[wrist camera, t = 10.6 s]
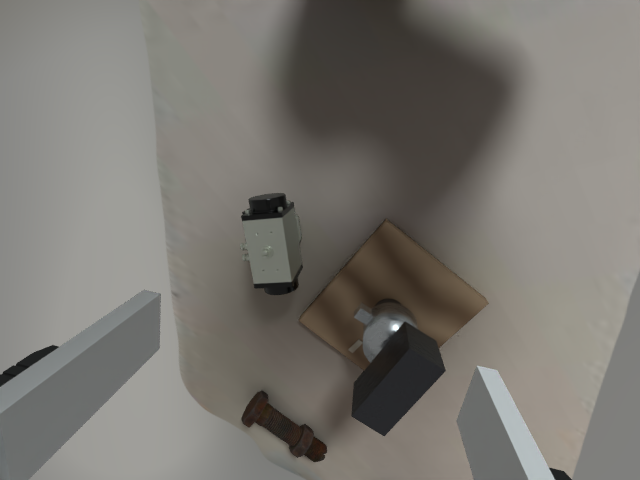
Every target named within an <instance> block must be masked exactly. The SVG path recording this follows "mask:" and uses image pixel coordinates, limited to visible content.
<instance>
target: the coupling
mask: <svg viewBox="0 0 640 480" xmlns="http://www.w3.org/2000/svg"><path fill="white" fill-rule="evenodd" d="M354 318H356V319H357V320H359V321H360V322H362V323H364V327H363V351H364V354H365V356H366V358H367V359H368V361H369V362H370V364H369V365H368V367H367V368H366V369H365V370H364V371H363V373H362V374H361V375H360V376H359V377H358V379H357V380H356V381H355V382H354V389H353V402H352V417H353V418H355V419H357V420H358V421H360V422H362V423H363V424H365V425H367V426H368V427H370V428H371V429H373V430H375V431H376V432H378V433H380V434H381V435H383V436H385V435H386V434H387V433H388V432H389V431H390V430H391V429H392V428H393V426H394V425H395V424H396V423H397V422H398V421H399V420H400V419H401V418H402V417H403V416H404V415H405V414H406V413H407V412H408V410H409V409H410V408H411V407H412V406H413V405H414V404H415V403H416V402H417V401H418V400H419V399H420V398H421V397H422V396H423V394H424V393H425V392H426V391H427V390H428V389H429V388H430V387H431V386H432V385H433V384H434V383H435V382H436V381H437V379H438V378H439V377H440V376H441V375H442V374H443V373H444V372H445V371H446V370H445V367H444V364H443V361H442V358H441V354H440V351H439V348H438V345H437V341H436V340H434V339H433V338H431V337H430V336H428V335H427V334H425V333H423V332H422V331H420V330H419V329H418V325H417V321H416V318H415V316H414V314H413V313H412V312H411V311H410V310H409V309H408V308H406V307H405V306H403V305H400V304H397V303H382V304H379V305H377V306H375V307H373V308H372V309H371V308H369V307H368V306H366V305H364V304H363V303H360V305H359V306H358V307H357V309H356V310H355V311H354Z"/></svg>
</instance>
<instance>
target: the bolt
mask: <svg viewBox="0 0 640 480" xmlns="http://www.w3.org/2000/svg"><path fill="white" fill-rule="evenodd" d="M267 402H268V395H267V394H266V393H265V392H263V391H260V392H258V393H257V394H256V395H255V396H254V397H253V398H252V400H251V401H250V403H249V404H248V406H247V407H246V409H245V411H244V413H243V416H242V422H243V424H244V425H246V426H247V427H250V426H251V425H252V424H253V423H254V422H256V423H257V424H259V425H260V426H263V427H265V428H267V430H269V431H270V432H271V433H273V434H275V435H276V436H278V438H280V439H281V440H283V441H285V442H286V443H288V444H289V445H290V446H289V449H290V451H291V453H292V454H293V455H294V456H296V457H297V458H298V457H301V456H303V455H305V456H307V457H308V458H309V459H310V460H312V461H313V462H318V461H321V460H324V458H325V455H324V454H325V453H327V446H326V445H325V444H324V443H323V442H321V441H320V440H318V439H317V438H315V437H314V436H313V435H314V433H313V431H312V429H311V428H310V427H309V426H307V425H306V424H304V425H301V426H298V425H297V424H296V423H294V422H293V421H291V420H290V419H289V418H287V417H286V416H284V415H282V414H281V413H280V412H279V411H277V410H276V409H274V408H273V407H272V406H271V405H270V404H268V403H267Z"/></svg>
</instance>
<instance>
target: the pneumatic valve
mask: <svg viewBox="0 0 640 480" xmlns="http://www.w3.org/2000/svg"><path fill="white" fill-rule="evenodd" d="M249 205H250V208H249V209H247V210H246V211H244V212H242V213H243V215H242V216H241V218H242V223H243V228H244V234H245V239H246V243H245V244H244V243H241V244H240V249H241V250H248V254H247V255H246V254H243V256H242V259H243V261H250V266H251V272H252V277H253V283H254V288H264V291H265V292H266V293H267V294H270V295H282V294H287V293H290V292H292V291H294V290H296V289H297V288H298V286H299V284H298V275H299V274H300V272H301V270H302V268H303V266H302V259H301V252H300V244H299V242H300V241H301V238H302V236H301V229H300V221H299V216H297V214H295V209H294V202H290V201H286V195H285V194H284V193H273V194H265V195H259V196H255V197H252V198H249Z"/></svg>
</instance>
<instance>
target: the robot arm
mask: <svg viewBox="0 0 640 480" xmlns="http://www.w3.org/2000/svg"><path fill="white" fill-rule="evenodd" d="M160 300H161V294H160V293H156V292H151V291H147V290H143V291H141V292H140V293H138V294H137V295H135V296H134V297H133V298H131V299H130V300H128V301H127V302H125V303H124V304H122V305H121V306H119V307H118V308H116V309H115V310H113V311H112V312H111V313H109V314H107V315H106V316H104V317H103V318H101V319H100V320H98V321H97V322H96V323H94V324H93V325H91V326H90V327H88V328H87V329H85V330H84V331H82V332H81V333H79V334H78V335H76V336H75V337H73V338H72V339H70V340H69V341H67V342H66V343H64V344H63V345H62V346H60V347H58V346H54V345H52V346H49V347H47V348H44V349H42V350H39V351H36V352H34V353H32V354H30V355H29V356H27V357H26V358H24V359H23V360H21V361H20V362H18V363H17V364H16V366H12V367H10V368H9V369H7V370H6V371H4V372H3V374H2V375H0V480H29V479H30V478H31V477H32V476H33V475H34V474H35V473H36V472H37V471H38V470H39V469H40V468H41V467H42V466H43V465H44V464H45V463H46V462H47V461H48V460H49V459H50V458H51V457H52V456H53V455H54V454H55V453H56V452H57V450H58V449H60V448H61V447H62V446H63V445H64V444H65V443H66V442H67V441H68V440H69V438H71V437H72V436H73V435H74V434H75V433H76V431H78V429H80V428H81V427H82V426H83V424H85V423H86V422H87V421H88V420H89V419H90V418H91V416H93V415H94V413H95V412H96V411H98V410H99V408H100V407H102V406H103V405H104V403H106V402H107V401H108V400H109V399H110V398H111V397H112V396H113V395H114V394H115V393H116V391H117V390H118V389H120V388H121V386H122V385H123V384H125V382H127V381H128V379H130V377H132V376H133V374H135V372H137V371H138V370H139V369H140V368H141V366H142V365H144V363H146V362H147V360H149V359H150V358H151V357H152V356H153V354H154V353H155V352H157V351H158V349H159V348H160V302H161V301H160ZM457 424H458V427H459V430H460V434H461V437H462V441H463V444H464V447H465V451H466V454H467V458H468V461H469V464H470V468H471V471H472V475H473V478H474V480H571V478H570V477H569V476H568V475H567V474H566V473H565V472H564V471H561V470H557V469H553V468H549V467H548V465H547V464H546V462H545V460H544V458H543V456H542V454H541V452H540V450H539V448H538V447H537V445H536V443H535V441H534V439H533V437H532V435H531V433H530V431H529V430H528V428H527V426H526V424H525V422H524V420H523V418H522V416H521V414H520V413H519V411H518V409H517V407H516V405H515V403H514V401H513V399H512V397H511V395H510V394H509V392H508V390H507V388H506V386H505V384H504V382H503V380H502V378H501V377H500V375H499V373H498V371H497V370H494V369H490V368H485V367H481V366H477V367H476V369H475V372H474V375H473V378H472V380H471V383H470V386H469V388H468V391H467V394H466V397H465V399H464V402H463V405H462V407H461V410H460V413H459V415H458V418H457Z"/></svg>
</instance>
